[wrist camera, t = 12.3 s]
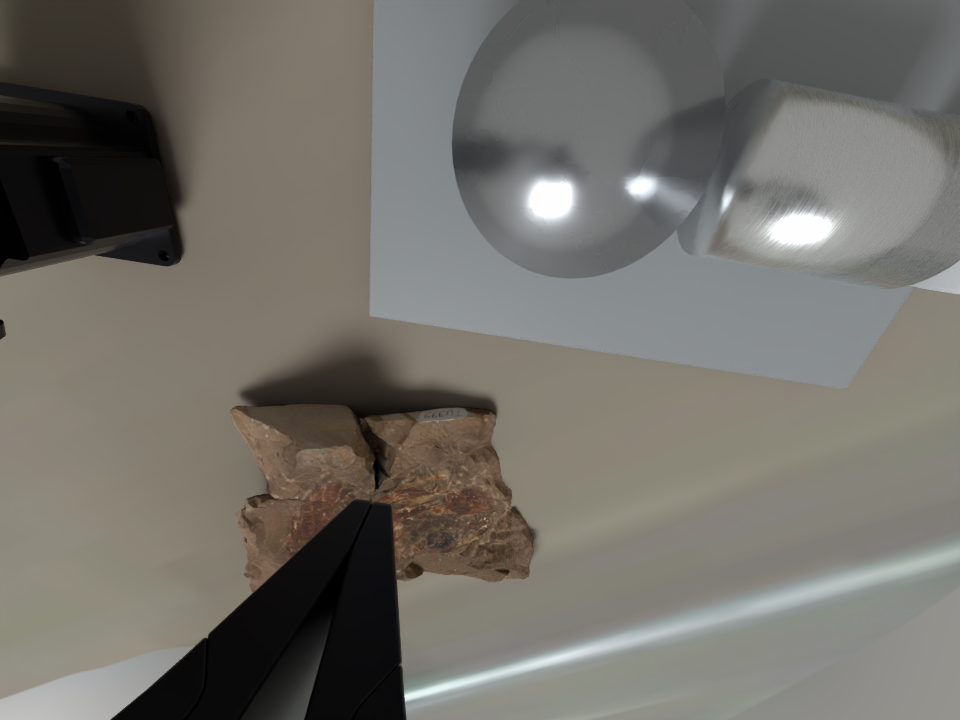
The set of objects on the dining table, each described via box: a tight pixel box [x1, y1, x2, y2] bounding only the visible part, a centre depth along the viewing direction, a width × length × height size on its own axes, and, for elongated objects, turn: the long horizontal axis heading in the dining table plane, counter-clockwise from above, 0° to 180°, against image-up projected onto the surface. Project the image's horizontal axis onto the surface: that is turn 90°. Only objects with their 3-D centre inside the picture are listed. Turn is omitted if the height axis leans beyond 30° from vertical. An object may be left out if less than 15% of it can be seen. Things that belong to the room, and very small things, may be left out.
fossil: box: [230, 404, 534, 592], centre depth 24 cm, size 20×16×5 cm
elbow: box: [452, 0, 960, 289], centre depth 12 cm, size 15×8×5 cm, turn 81°
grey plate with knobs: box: [370, 0, 960, 389], centre depth 13 cm, size 23×18×6 cm
